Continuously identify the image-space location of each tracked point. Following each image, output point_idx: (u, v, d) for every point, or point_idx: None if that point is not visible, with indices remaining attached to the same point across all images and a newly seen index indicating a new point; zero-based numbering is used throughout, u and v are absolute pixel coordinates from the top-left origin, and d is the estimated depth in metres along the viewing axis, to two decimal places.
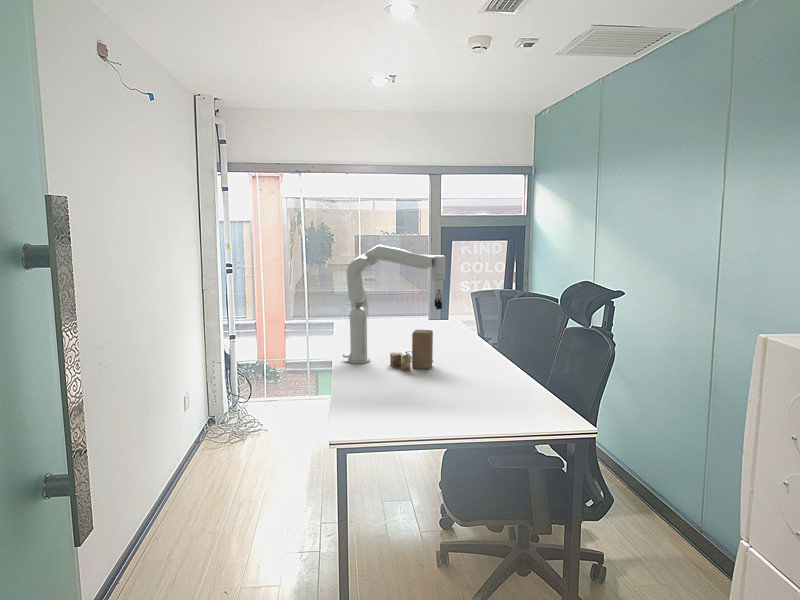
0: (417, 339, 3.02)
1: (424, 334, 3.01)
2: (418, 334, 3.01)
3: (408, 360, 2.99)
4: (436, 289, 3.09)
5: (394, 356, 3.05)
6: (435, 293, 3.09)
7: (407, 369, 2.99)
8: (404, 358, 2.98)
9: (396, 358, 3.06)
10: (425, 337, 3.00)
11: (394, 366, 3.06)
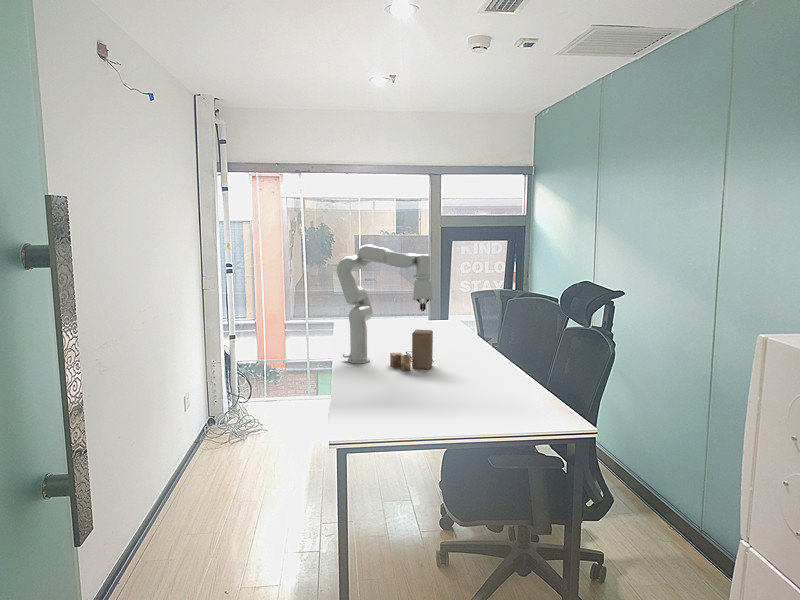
0: (417, 339, 3.02)
1: (424, 334, 3.01)
2: (418, 334, 3.01)
3: (408, 360, 2.99)
4: None
5: (394, 356, 3.05)
6: (432, 293, 3.01)
7: (407, 369, 2.99)
8: (404, 358, 2.98)
9: (396, 358, 3.06)
10: (425, 337, 3.00)
11: (394, 366, 3.06)
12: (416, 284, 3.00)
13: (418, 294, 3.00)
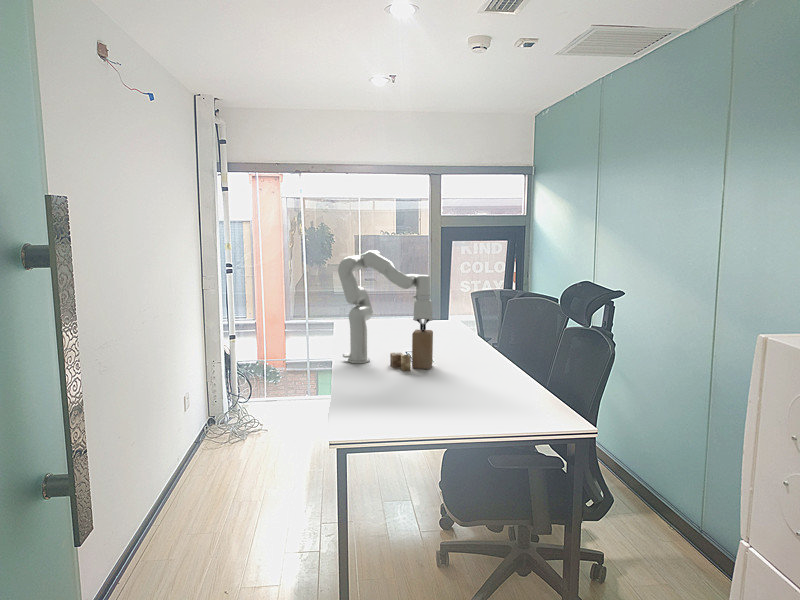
0: (417, 339, 3.01)
1: (424, 334, 3.00)
2: (418, 334, 3.01)
3: (408, 360, 2.99)
4: None
5: (394, 356, 3.05)
6: (432, 313, 3.02)
7: (407, 369, 2.99)
8: (404, 358, 2.98)
9: (396, 358, 3.06)
10: (426, 337, 3.00)
11: (394, 366, 3.06)
12: (416, 305, 3.01)
13: (418, 314, 3.02)
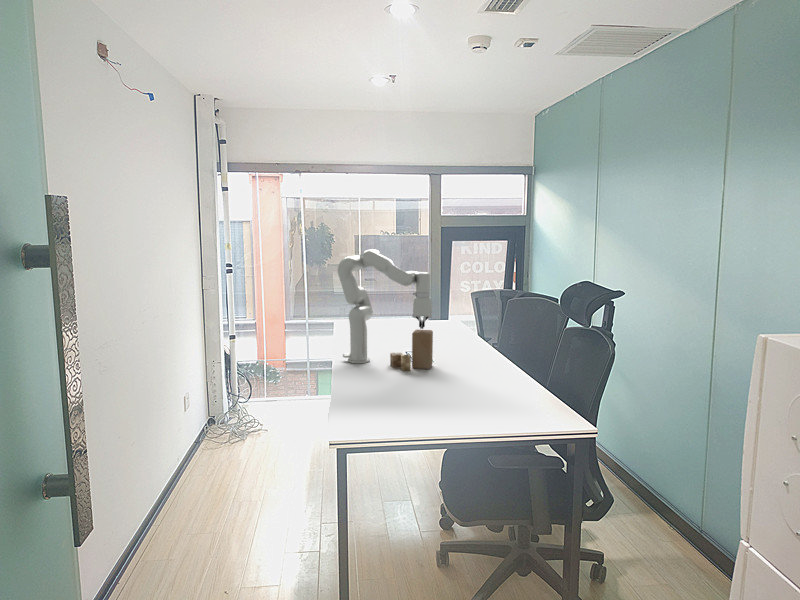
0: (417, 339, 3.02)
1: (424, 334, 3.01)
2: (418, 334, 3.01)
3: (408, 360, 2.99)
4: (431, 307, 3.02)
5: (394, 356, 3.05)
6: (431, 311, 3.02)
7: (407, 369, 2.99)
8: (404, 358, 2.98)
9: (396, 358, 3.06)
10: (425, 337, 3.00)
11: (394, 366, 3.06)
12: (416, 302, 3.01)
13: (417, 312, 3.01)
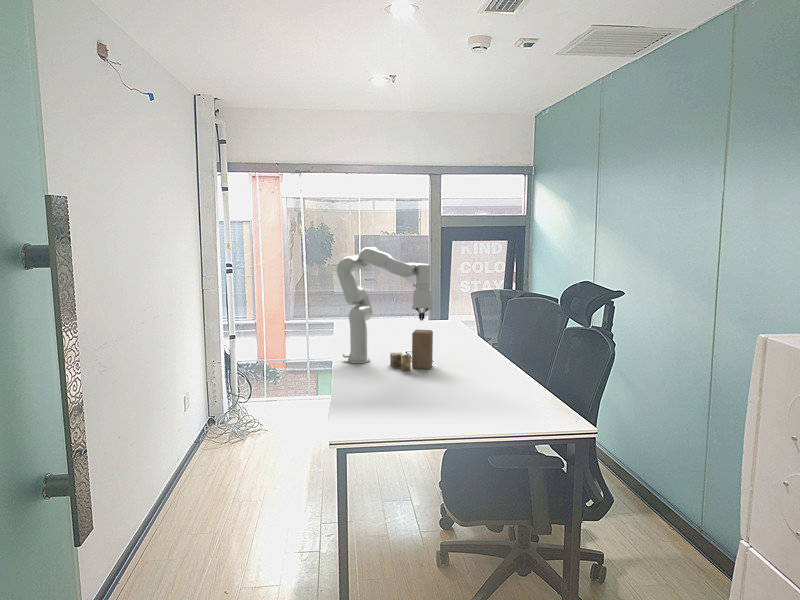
0: (417, 339, 3.02)
1: (424, 334, 3.01)
2: (418, 334, 3.01)
3: (408, 360, 2.99)
4: (431, 298, 3.02)
5: (394, 356, 3.05)
6: (431, 303, 3.01)
7: (407, 369, 2.99)
8: (404, 358, 2.98)
9: (396, 358, 3.06)
10: (425, 337, 3.00)
11: (394, 366, 3.06)
12: (416, 293, 3.00)
13: (417, 303, 3.01)
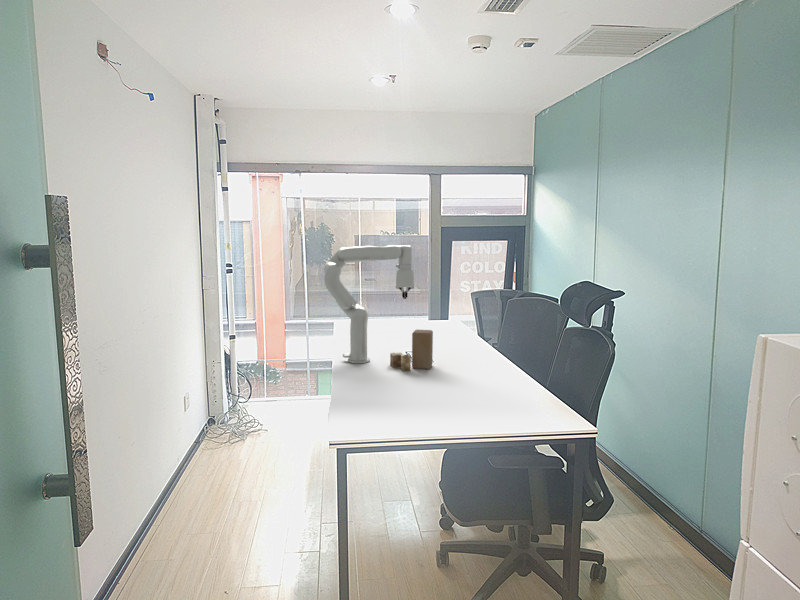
0: (417, 339, 3.02)
1: (424, 334, 3.01)
2: (418, 334, 3.01)
3: (408, 360, 2.99)
4: (413, 278, 3.20)
5: (394, 356, 3.05)
6: (413, 282, 3.20)
7: (407, 369, 2.99)
8: (404, 358, 2.98)
9: (396, 358, 3.06)
10: (425, 337, 3.00)
11: (394, 366, 3.06)
12: (398, 273, 3.19)
13: (400, 283, 3.20)
